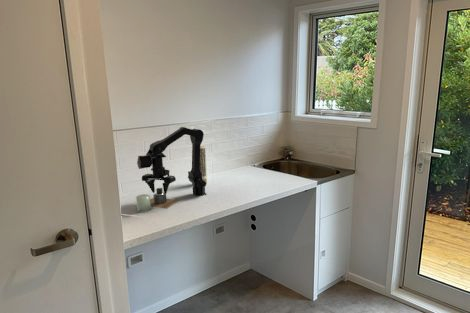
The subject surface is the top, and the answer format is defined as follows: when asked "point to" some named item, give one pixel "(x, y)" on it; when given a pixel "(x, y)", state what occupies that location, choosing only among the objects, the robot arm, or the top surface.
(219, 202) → the top surface
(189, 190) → the top surface
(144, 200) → the sage mug
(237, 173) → the top surface
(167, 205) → the walnut board
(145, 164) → the robot arm
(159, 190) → the plunger
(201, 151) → the paper tube
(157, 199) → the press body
